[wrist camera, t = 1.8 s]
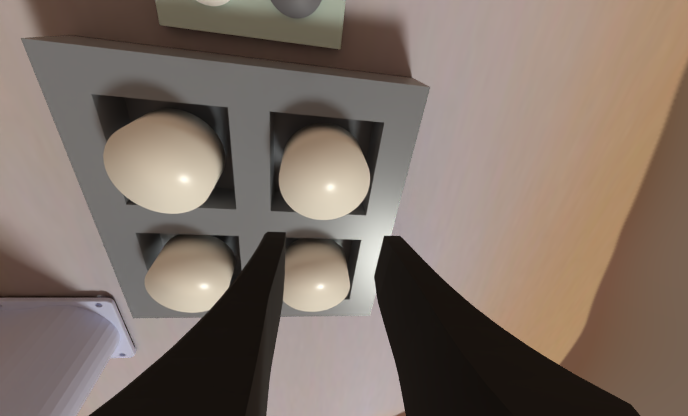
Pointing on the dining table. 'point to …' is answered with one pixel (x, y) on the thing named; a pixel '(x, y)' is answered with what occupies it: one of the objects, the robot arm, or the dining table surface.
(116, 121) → the button board
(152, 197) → the button
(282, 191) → the button
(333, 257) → the button
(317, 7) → the tile
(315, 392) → the dining table surface
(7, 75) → the dining table surface
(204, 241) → the button
